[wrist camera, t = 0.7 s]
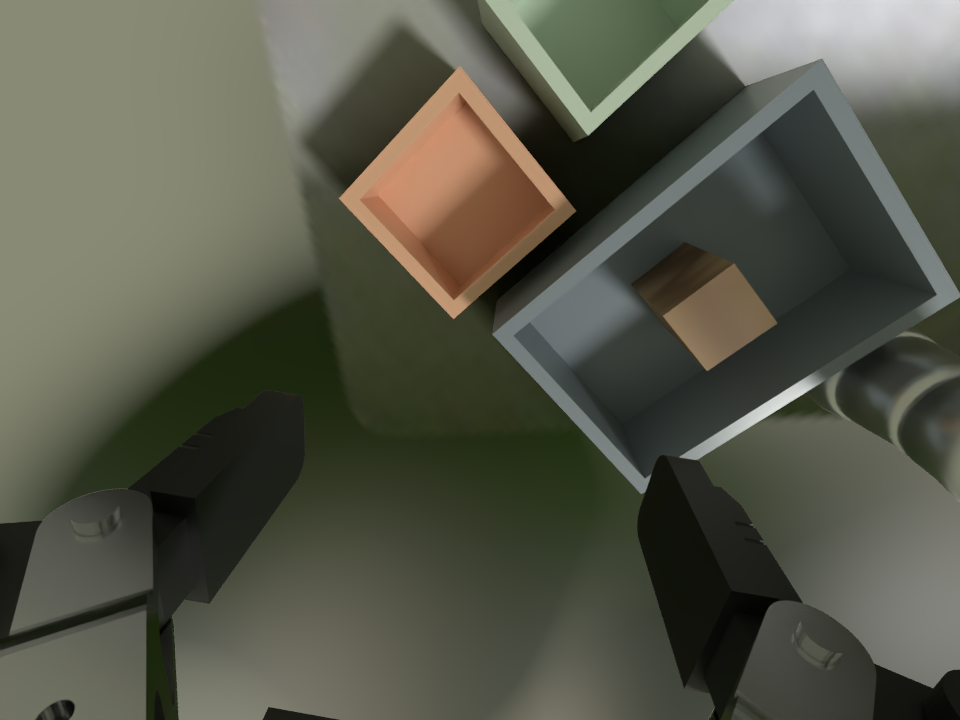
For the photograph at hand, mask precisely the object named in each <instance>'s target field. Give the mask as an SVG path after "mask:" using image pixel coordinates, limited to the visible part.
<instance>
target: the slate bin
mask: <svg viewBox="0 0 960 720" xmlns="http://www.w3.org/2000/svg"><path fill="white" fill-rule="evenodd" d="M685 242H686V243H688V244H690V245H693V246H695V247H697V248H700V249H702V250H704V251H707V252H709V253H712V254H714V255H716V256H719V257H721V258H723V259H726V260H728V261H730V262H733V263H734V264H735V265H736V266H737V268H738V269H739V270H740V272H741V273H742V275H743V276H744V277H745V279H746V280H747V282H748V283H749V284H750V286H751V287H752V288H753V290H754V291H755V293H756V294H757V295H758V297H759V298H760V299H761V301H762V302H763V304H764V305H765V306H766V308H767V309H768V310H769V312H770V313H771V315H772V316H773V317H774V319H775V320H776V321H777V324H776V325H775V326H773V327H772V328H770V329H769V330H767V331H766V332H764V333H763V334H761V335H760V336H758V337H757V338H755V339H754V340H752V341H751V342H749V343H748V344H746V345H745V346H744V347H742V348H741V349H739V350H738V351H736V352H735V353H733V354H732V355H730V356H729V357H727V358H726V359H724V360H723V361H721V362H720V363H718V364H717V365H716V366H714V367H713V368H711V369H710V370H708V371H706V370H705V369H704V367H703V366H702V365H701V364H700V363H699V362H698V361H697V360H696V359H695V358H694V357H693V356H692V355H691V354H690V353H689V352H688V351H687V350H686V349H685V348H684V347H683V346H682V344H681V343H680V342H679V341H678V340H677V339H676V338H675V337H674V336H673V335H672V334H671V333H670V332H669V331H668V330H667V329H666V327H665V326H664V325H663V324H662V322H661V321H660V320H659V319H658V318H657V316H656V315H655V314H654V313H653V311H652V310H651V309H650V308H649V306H648V305H647V304H646V303H645V301H644V300H643V299H642V298H641V296H640V295H639V294H638V293H637V291H636V290H635V289H634V288H633V287H632V285H631V284H632V283H634V282H635V281H636V280H637V279H639V278H640V277H641V276H642V275H644V274H645V273H646V272H648V271H649V270H650V269H651V268H653V267H654V266H655V265H656V264H658V263H659V262H660V261H662V260H663V259H664V258H665V257H667V256H668V255H669V254H670V253H672V252H673V251H674V250H676V249H677V248H678V247H679V246H681V245H682V244H683V243H685ZM959 297H960V293H959V292H958V290H957V288H956V286H955V285H954V283H953V281H952V280H951V278H950V276H949V274H948V273H947V271H946V269H945V268H944V266H943V264H942V262H941V261H940V259H939V257H938V256H937V254H936V252H935V251H934V249H933V247H932V245H931V244H930V242H929V240H928V239H927V237H926V235H925V233H924V232H923V230H922V228H921V227H920V225H919V223H918V221H917V220H916V218H915V216H914V215H913V213H912V211H911V209H910V208H909V206H908V204H907V203H906V201H905V199H904V198H903V196H902V194H901V192H900V191H899V189H898V187H897V186H896V184H895V182H894V180H893V179H892V177H891V175H890V174H889V172H888V170H887V168H886V167H885V165H884V163H883V162H882V160H881V158H880V157H879V155H878V153H877V151H876V150H875V148H874V146H873V145H872V143H871V141H870V139H869V138H868V136H867V134H866V133H865V131H864V129H863V127H862V126H861V124H860V122H859V121H858V119H857V117H856V116H855V114H854V112H853V110H852V109H851V107H850V105H849V104H848V102H847V100H846V98H845V97H844V95H843V93H842V92H841V90H840V88H839V86H838V85H837V83H836V81H835V80H834V78H833V76H832V75H831V73H830V71H829V69H828V68H827V66H826V64H825V63H824V61H823V59H820V60H817V61H814V62H812V63H809V64H806V65H803V66H801V67H798V68H795V69H792V70H789V71H787V72H784V73H781V74H778V75H775V76H773V77H770V78H767V79H764V80H762V81H759V82H756V83H753V84H750V85H748V86H745V87H744V88H743V89H742V90H741V91H740V92H738V93H737V94H736V95H735V96H734V97H733V98H732V99H730V100H729V101H728V102H727V103H726V104H725V105H723V106H722V107H721V108H720V109H719V110H718V111H716V112H715V113H714V114H713V115H712V116H711V117H709V118H708V119H707V120H706V121H705V122H704V123H702V124H701V125H700V126H699V127H698V128H697V129H696V130H694V131H693V132H692V133H691V134H690V135H689V136H687V137H686V138H685V139H684V140H683V141H682V142H680V143H679V144H678V145H677V146H676V147H675V148H673V149H672V150H671V151H670V152H669V153H668V154H666V155H665V156H664V157H663V158H662V159H661V160H659V161H658V162H657V163H656V164H655V165H654V166H653V167H651V168H650V169H649V170H648V171H647V172H646V173H644V174H643V175H642V176H641V177H640V178H639V179H637V180H636V181H635V182H634V183H633V184H632V185H630V186H629V187H628V188H627V189H626V190H625V191H623V192H622V193H621V194H620V195H619V196H618V197H616V198H615V199H614V200H613V201H612V202H611V203H610V204H608V205H607V206H606V207H605V208H604V209H603V210H601V211H600V212H599V213H598V214H597V215H596V216H594V217H593V218H592V219H591V220H590V221H589V222H587V223H586V224H585V225H584V226H583V227H582V228H580V229H579V230H578V231H577V232H576V233H575V234H574V235H572V236H571V237H570V238H569V239H568V240H567V241H565V242H564V243H563V244H562V245H561V246H560V247H558V248H557V249H556V250H555V251H554V252H553V253H551V254H550V255H549V256H548V257H547V258H546V259H544V260H543V261H542V262H541V263H540V264H539V265H537V266H536V267H535V268H534V269H533V270H532V271H531V272H529V273H528V274H527V275H526V276H525V277H524V278H522V279H521V280H520V281H519V282H518V283H517V284H515V285H514V286H513V287H512V288H511V289H510V290H508V291H507V292H506V293H505V294H504V295H503V296H501V297H500V298H499V299H498V300H497V302H496V310H495V317H494V325H493V333H492V335H493V336H494V337H495V338H496V339H497V340H498V341H499V342H500V343H501V344H502V345H503V346H504V347H505V348H506V350H507V351H508V352H509V353H510V354H511V355H512V356H513V357H514V358H515V359H516V360H517V361H518V362H519V363H520V365H521V366H522V367H523V368H524V369H525V370H526V371H527V372H528V373H529V374H530V375H531V376H532V377H533V378H534V380H535V381H536V382H537V383H538V384H539V385H540V386H541V387H542V388H543V389H544V390H545V391H546V392H547V393H548V395H549V396H550V397H551V398H552V399H553V400H554V401H555V402H556V403H557V404H558V405H559V406H560V407H561V408H562V410H563V411H564V412H565V413H566V414H567V415H568V416H569V417H570V418H571V419H572V420H573V421H574V422H575V423H576V425H577V426H578V427H579V428H580V429H581V430H582V431H583V432H584V433H585V434H586V435H587V436H588V437H589V438H590V440H591V441H592V442H593V443H594V444H595V445H596V446H597V447H598V448H599V449H600V450H601V451H602V452H603V453H604V455H605V456H606V457H607V458H608V459H609V460H610V461H611V462H612V463H613V464H614V465H615V466H616V467H617V468H618V470H619V471H620V472H621V473H622V474H623V475H624V476H625V477H626V478H627V479H628V480H629V481H630V482H631V483H632V485H634V487H635V488H636V489H637V490H638V491H639V492H640V493H641V494H642V493H644V492H646V489H647V486H648V483H649V480H650V477H651V474H652V471H653V468H654V465H655V463H656V461H657V459H658V457H659V456H661V455H667V456H673V457H680V458H686V459H692V460H697V459H699V458H701V457H702V456H704V455H705V454H707V453H708V452H710V451H712V450H713V449H715V448H717V447H718V446H720V445H722V444H723V443H725V442H726V441H728V440H730V439H731V438H733V437H734V436H736V435H738V434H739V433H741V432H742V431H744V430H746V429H747V428H749V427H751V426H752V425H754V424H756V423H757V422H759V421H760V420H762V419H764V418H765V417H767V416H768V415H770V414H772V413H773V412H775V411H777V410H778V409H780V408H781V407H783V406H785V405H786V404H788V403H789V402H791V401H793V400H794V399H796V398H798V397H799V396H801V395H802V394H804V393H806V392H807V391H809V390H811V389H812V388H814V387H815V386H817V385H819V384H820V383H822V382H823V381H825V380H827V379H828V378H830V377H832V376H833V375H835V374H836V373H838V372H840V371H841V370H843V369H844V368H846V367H848V366H849V365H851V364H853V363H854V362H856V361H857V360H859V359H861V358H862V357H864V356H866V355H867V354H869V353H870V352H872V351H874V350H875V349H877V348H878V347H880V346H882V345H883V344H885V343H887V342H888V341H890V340H891V339H893V338H895V337H896V336H898V335H899V334H901V333H903V332H904V331H906V330H908V329H909V328H911V327H912V326H914V325H916V324H917V323H919V322H920V321H922V320H924V319H925V318H927V317H929V316H930V315H932V314H933V313H935V312H937V311H938V310H940V309H942V308H943V307H945V306H946V305H948V304H950V303H951V302H953V301H954V300H956V299H958V298H959Z"/></svg>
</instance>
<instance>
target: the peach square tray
mask: <svg viewBox="0 0 960 720" xmlns="http://www.w3.org/2000/svg"><path fill="white" fill-rule="evenodd" d="M339 199H340V200H341V201H342V202H343V203H344V204H345V205H346V206H347V207H348V209H349V210H350V211H351V212H352V213H353V214H354V215H355V216H356V217H357V218H358V219H359V220H360V221H361V222H362V223H363V224H364V225H365V226H366V227H367V229H368V230H369V231H370V232H371V233H372V234H373V235H374V236H375V237H376V238H377V239H378V240H379V241H380V242H381V243H382V244H383V245H384V246H385V247H386V249H387V250H388V251H389V252H390V253H391V254H392V255H393V256H394V257H395V258H396V259H397V260H398V261H399V262H400V263H401V264H402V265H403V266H404V267H405V269H406V270H407V271H408V272H409V273H410V274H411V275H412V276H413V277H414V278H415V279H416V280H417V281H418V282H419V283H420V284H421V285H422V286H423V287H424V289H425V290H426V291H427V292H428V293H429V294H430V295H431V296H432V297H433V298H434V299H435V300H436V301H437V302H438V303H439V304H440V305H441V306H442V307H443V309H444V310H445V311H446V312H447V313H448V314H449V315H450V316H451V317H452V318H453V319H454V318H455V317H456V316H457V315H459V314H460V313H461V312H462V311H463V310H464V309H465V308H467V307H468V306H469V305H470V304H471V303H472V302H473V301H474V300H476V299H477V298H478V297H479V296H480V295H481V294H482V293H484V292H485V291H486V290H487V289H488V288H489V287H490V286H492V285H493V284H494V283H495V282H496V281H497V280H498V279H500V278H501V277H502V276H503V275H504V274H505V273H506V272H508V271H509V270H510V269H511V268H512V267H513V266H514V265H516V264H517V263H518V262H519V261H520V260H521V259H522V258H523V257H525V256H526V255H527V254H528V253H529V252H530V251H531V250H533V249H534V248H535V247H536V246H537V245H538V244H539V243H541V242H542V241H543V240H544V239H545V238H546V237H547V236H549V235H550V234H551V233H552V232H553V231H554V230H555V229H557V228H558V227H559V226H560V225H561V224H562V223H563V222H565V221H566V220H567V219H568V218H569V217H570V216H571V215H572V214H574V213H575V212H576V210H575V209H574V207H573V206H572V205H571V204H570V203H569V201H568V200H567V199H566V198H565V196H564V195H563V194H562V193H561V191H560V190H559V189H558V188H557V186H556V185H555V184H554V183H553V181H552V180H551V179H550V178H549V176H548V175H547V174H546V173H545V171H544V170H543V169H542V168H541V166H540V165H539V164H538V163H537V161H536V160H535V159H534V158H533V156H532V155H531V154H530V153H529V151H528V150H527V149H526V148H525V146H524V145H523V144H522V143H521V142H520V140H519V139H518V138H517V137H516V135H515V134H514V133H513V132H512V130H511V129H510V128H509V127H508V125H507V124H506V123H505V122H504V120H503V119H502V118H501V117H500V115H499V114H498V113H497V112H496V110H495V109H494V108H493V107H492V105H491V104H490V103H489V102H488V100H487V99H486V98H485V97H484V95H483V94H482V93H481V92H480V90H479V89H478V88H477V87H476V85H475V84H474V83H473V82H472V81H471V79H470V78H469V77H468V76H467V74H466V73H465V72H464V71H463V69H462V68H461V67H460V66H459V67H458V69H457V70H456V71H455V72H454V73H453V74H452V75H451V76H450V77H449V78H448V79H447V81H446V82H445V83H444V84H443V85H442V86H441V87H440V88H439V89H438V90H437V92H436V93H435V94H434V95H433V96H432V97H431V98H430V99H429V100H428V101H427V102H426V104H425V105H424V106H423V107H422V108H421V109H420V110H419V111H418V112H417V113H416V115H415V116H414V117H413V118H412V119H411V120H410V121H409V122H408V123H407V124H406V126H405V127H404V128H403V129H402V130H401V131H400V132H399V133H398V134H397V135H396V136H395V138H394V139H393V140H392V141H391V142H390V143H389V144H388V145H387V146H386V147H385V149H384V150H383V151H382V152H381V153H380V154H379V155H378V156H377V157H376V158H375V159H374V161H373V162H372V163H371V164H370V165H369V166H368V167H367V168H366V169H365V170H364V172H363V173H362V174H361V175H360V176H359V177H358V178H357V179H356V180H355V181H354V183H353V184H352V185H351V186H350V187H349V188H348V189H347V190H346V191H345V192H344V193H343V195H342V196H341V197H340V198H339Z"/></svg>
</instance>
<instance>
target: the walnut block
mask: <svg viewBox="0 0 960 720" xmlns="http://www.w3.org/2000/svg"><path fill="white" fill-rule="evenodd" d="M631 285H632V287H633V288H634V289H635V290H636V291H637V293H638V294H639V295H640V296H641V298H642V299H643V300H644V301H645V303H646V304H647V305H648V306H649V308H650V309H651V310H652V311H653V313H654V314H655V315H656V316H657V318H658V319H659V320H660V321H661V322H662V324H663V325H664V326H665V327H666V329H667V330H668V331H669V332H670V333H671V334H672V335H673V336H674V337H675V338H676V339H677V340H678V341H679V342H680V343H681V344H682V346H683V347H684V348H685V349H686V350H687V351H688V352H689V353H690V354H691V355H692V356H693V357H694V358H695V359H696V360H697V361H698V362H699V363H700V364H701V365H702V366H703V367H704V369H705V370H706V371H708V370H710V369H711V368H713V367H714V366H716V365H717V364H718V363H720V362H721V361H723V360H724V359H726V358H727V357H729V356H730V355H732V354H733V353H735V352H736V351H738V350H739V349H741V348H742V347H744V346H745V345H746V344H748V343H749V342H751V341H752V340H754V339H755V338H757V337H758V336H760V335H761V334H763V333H764V332H766V331H767V330H769V329H770V328H772V327H773V326H775V325H776V324H777V321H776V320H775V319H774V317H773V316H772V315H771V313H770V312H769V310H768V309H767V308H766V306H765V305H764V304H763V302H762V301H761V299H760V298H759V297H758V295H757V294H756V293H755V291H754V290H753V288H752V287H751V286H750V284H749V283H748V282H747V280H746V279H745V277H744V276H743V275H742V273H741V272H740V270H739V269H738V268H737V266H736V265H735V264H734V263H733V262H730V261H728V260H726V259H723V258H721V257H719V256H716V255H714V254H712V253H709V252H707V251H704V250H702V249H700V248H697V247H695V246H693V245H690V244H688V243H686V242H685V243H683V244H682V245H681V246H679V247H678V248H677V249H676V250H674V251H673V252H672V253H670V254H669V255H668V256H667V257H665V258H664V259H663V260H662V261H660V262H659V263H658V264H656V265H655V266H654V267H653V268H651V269H650V270H649V271H648V272H646V273H645V274H644V275H642V276H641V277H640V278H639V279H637V280H636V281H635V282H634V283H632V284H631Z"/></svg>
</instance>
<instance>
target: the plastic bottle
mask: <svg viewBox="0 0 960 720" xmlns="http://www.w3.org/2000/svg"><path fill="white" fill-rule="evenodd" d="M807 393H808V395H809V396H810V397H811V398H812V399H813V400H814V402H815V403H816V404H817V405H819V406H821V407H822V408H824V409H825V410H827V411H829V412H831V413H833V414H835V415H837V416H839V417H841V418H844V419H846V420H849V421H851V422H854V423H856V424H858V425H860V426H862V427H863V428H865V429H867V430H868V431H870V432H872V433H874V434H875V435H877V436H879V437H881V438H882V439H884V440H886V441H887V442H889V443H891V444H892V445H894V446H895V447H896V448H898V449H899V450H900V451H901V452H903V453H904V454H905V455H907V456H908V457H910V459H911V460H912V461H914V462H915V463H916V464H918V465H919V466H920V467H921V468H922V469H924V470H925V471H926V472H928V473H929V474H930V475H931V476H933V477H934V478H935V479H936V480H937V481H938V482H939V483H940V484H941V485H942V486H943V487H944V488H945V489H946V490H947V491H948V492H949V493H950V494H951V495H952V496H953V497H954V498H955V499H956V500H958V502H959V503H960V356H959V355H957V354H955V353H953V352H951V351H949V350H947V349H945V348H943V347H942V346H940V345H938V344H937V343H935V342H934V341H933V340H931V339H930V338H929V337H927V336H926V335H924V334H923V333H922V332H920V331H918V330H917V329H915V328H913V327H911V328H909V329H908V330H906V331H904V332H903V333H901V334H899V335H898V336H896V337H895V338H893V339H891V340H890V341H888V342H887V343H885V344H883V345H882V346H880V347H878V348H877V349H875V350H874V351H872V352H870V353H869V354H867V355H866V356H864V357H862V358H861V359H859V360H857V361H856V362H854V363H853V364H851V365H849V366H848V367H846V368H844V369H843V370H841V371H840V372H838V373H836V374H835V375H833V376H832V377H830V378H828V379H827V380H825V381H823V382H822V383H820V384H819V385H817V386H815V387H814V388H812V389H811V390H809V391H807Z"/></svg>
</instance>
